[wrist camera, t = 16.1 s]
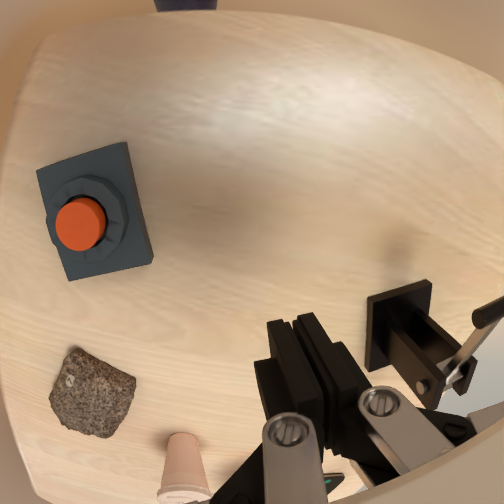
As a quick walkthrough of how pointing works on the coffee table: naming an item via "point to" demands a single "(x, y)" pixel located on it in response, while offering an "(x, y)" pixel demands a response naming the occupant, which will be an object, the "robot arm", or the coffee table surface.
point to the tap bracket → (412, 342)
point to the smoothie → (183, 472)
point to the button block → (111, 201)
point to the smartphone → (332, 481)
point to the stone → (91, 395)
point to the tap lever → (473, 340)
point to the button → (80, 224)
